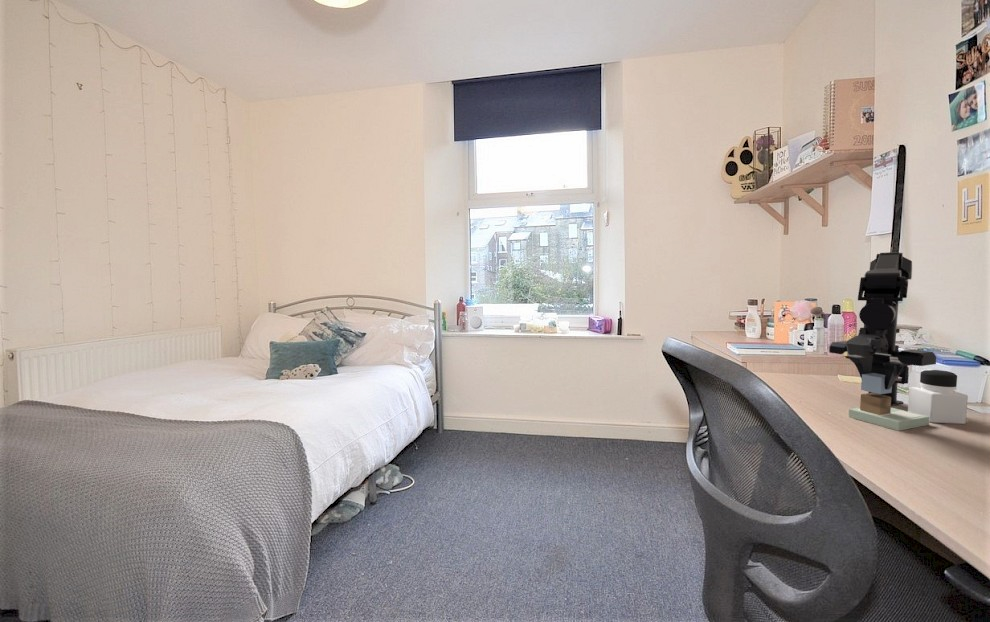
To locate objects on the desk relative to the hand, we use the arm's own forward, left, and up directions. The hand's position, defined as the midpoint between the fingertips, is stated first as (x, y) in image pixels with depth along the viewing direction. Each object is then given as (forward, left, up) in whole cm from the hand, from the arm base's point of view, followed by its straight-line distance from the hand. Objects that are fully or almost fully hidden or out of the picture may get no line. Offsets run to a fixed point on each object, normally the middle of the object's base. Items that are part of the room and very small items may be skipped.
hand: (876, 387), depth 99 cm
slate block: (0, 0, -1) cm, 1 cm away
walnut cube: (0, 0, -6) cm, 6 cm away
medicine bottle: (-14, +5, -8) cm, 17 cm away
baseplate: (-2, +2, -8) cm, 9 cm away
